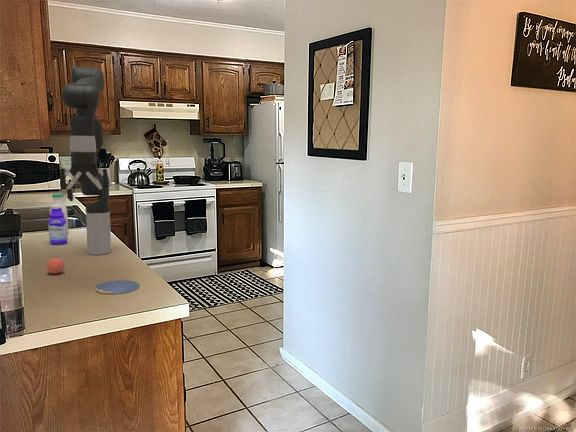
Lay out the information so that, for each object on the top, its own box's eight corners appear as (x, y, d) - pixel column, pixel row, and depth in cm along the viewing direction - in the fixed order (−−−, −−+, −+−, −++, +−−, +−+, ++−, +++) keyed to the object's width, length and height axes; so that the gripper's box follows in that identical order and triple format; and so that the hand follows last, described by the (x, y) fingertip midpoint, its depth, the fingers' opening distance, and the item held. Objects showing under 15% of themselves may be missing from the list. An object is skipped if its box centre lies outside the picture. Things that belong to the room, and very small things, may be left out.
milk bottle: (63, 232, 236) (61, 192, 232) (71, 234, 231) (69, 193, 228) (48, 234, 230) (45, 193, 227) (55, 237, 225) (53, 195, 222)
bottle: (48, 245, 209) (46, 206, 206) (51, 242, 214) (48, 204, 211) (66, 244, 211) (64, 206, 208) (68, 242, 216) (66, 204, 213)
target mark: (95, 282, 161) (95, 281, 161) (139, 279, 165) (139, 279, 165) (92, 296, 147) (92, 295, 147) (140, 292, 152) (140, 291, 152)
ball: (48, 271, 171) (47, 256, 170) (65, 270, 173) (64, 255, 172) (45, 276, 166) (44, 260, 165) (63, 275, 167) (62, 259, 167)
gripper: (108, 150, 156) (110, 198, 159) (60, 149, 152) (63, 199, 155) (106, 151, 149) (108, 202, 152) (56, 150, 145) (59, 202, 148)
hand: (85, 200), depth 154 cm, fingers open, 8 cm apart
